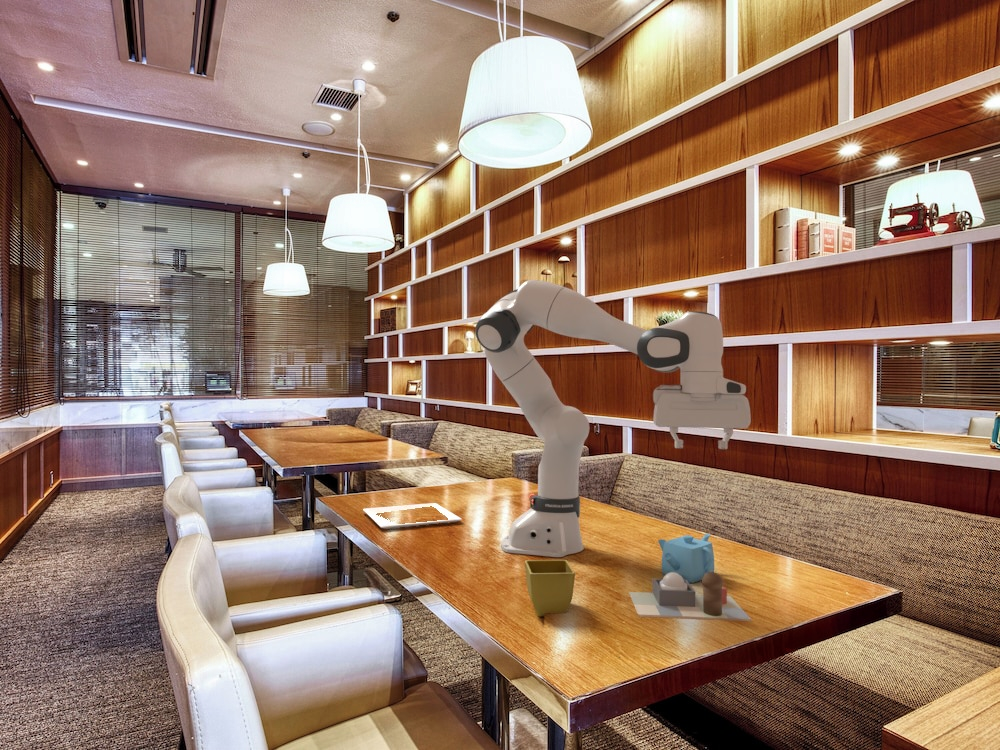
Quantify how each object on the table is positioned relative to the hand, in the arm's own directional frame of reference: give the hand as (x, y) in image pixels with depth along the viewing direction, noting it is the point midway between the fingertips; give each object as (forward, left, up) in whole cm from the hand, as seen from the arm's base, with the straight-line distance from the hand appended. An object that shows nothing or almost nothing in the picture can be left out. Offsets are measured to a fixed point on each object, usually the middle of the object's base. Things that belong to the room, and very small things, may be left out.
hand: (700, 448), depth 127 cm
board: (-6, -11, -31) cm, 34 cm away
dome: (-8, -8, -30) cm, 32 cm away
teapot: (-1, +8, -31) cm, 32 cm away
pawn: (-1, -14, -30) cm, 33 cm away
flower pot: (-33, -15, -31) cm, 48 cm away
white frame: (-77, +58, -32) cm, 102 cm away
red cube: (+1, -8, -30) cm, 31 cm away
